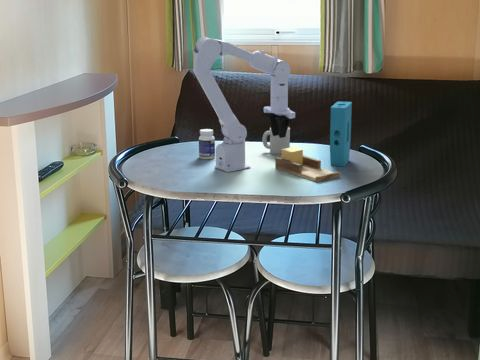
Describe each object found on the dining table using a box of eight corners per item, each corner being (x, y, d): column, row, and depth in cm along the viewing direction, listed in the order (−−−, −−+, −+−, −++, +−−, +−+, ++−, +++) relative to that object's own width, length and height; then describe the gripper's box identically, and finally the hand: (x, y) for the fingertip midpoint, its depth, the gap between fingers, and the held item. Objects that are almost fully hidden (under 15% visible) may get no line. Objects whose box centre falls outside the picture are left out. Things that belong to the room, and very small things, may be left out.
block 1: (290, 166, 221) (291, 152, 220) (281, 163, 225) (281, 149, 224) (302, 164, 224) (302, 149, 223) (292, 161, 228) (293, 147, 227)
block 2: (343, 167, 224) (345, 108, 219) (328, 166, 226) (330, 107, 220) (350, 158, 235) (352, 102, 229) (336, 157, 237) (337, 101, 231)
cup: (288, 155, 241) (288, 130, 239) (260, 154, 243) (260, 130, 241) (290, 150, 248) (291, 126, 246) (264, 149, 250) (263, 125, 248)
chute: (317, 182, 208) (317, 171, 207) (275, 168, 225) (275, 157, 224) (339, 177, 213) (340, 166, 212) (297, 163, 230) (297, 153, 229)
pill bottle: (214, 159, 237) (214, 131, 234) (198, 159, 237) (197, 131, 234) (215, 155, 242) (214, 128, 239) (199, 155, 242) (198, 128, 240)
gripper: (302, 97, 221) (302, 138, 224) (275, 92, 232) (275, 131, 236) (285, 100, 217) (285, 141, 220) (258, 94, 228) (258, 134, 232)
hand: (278, 136), depth 228 cm, fingers open, 3 cm apart
